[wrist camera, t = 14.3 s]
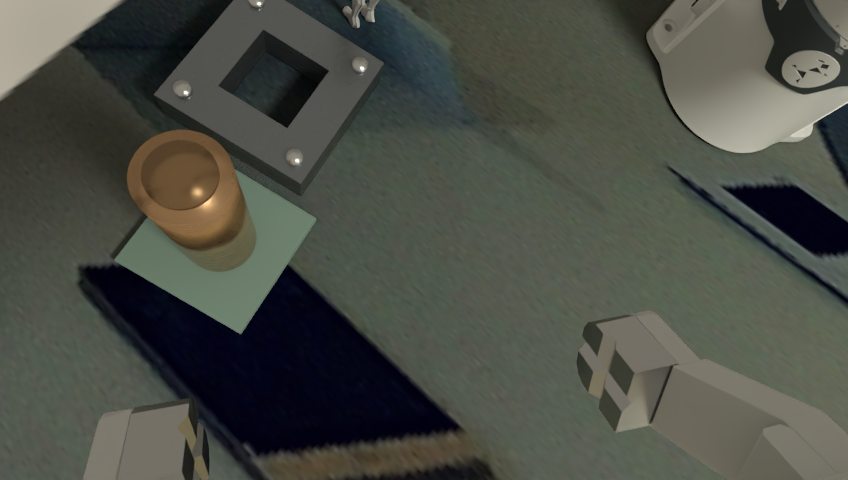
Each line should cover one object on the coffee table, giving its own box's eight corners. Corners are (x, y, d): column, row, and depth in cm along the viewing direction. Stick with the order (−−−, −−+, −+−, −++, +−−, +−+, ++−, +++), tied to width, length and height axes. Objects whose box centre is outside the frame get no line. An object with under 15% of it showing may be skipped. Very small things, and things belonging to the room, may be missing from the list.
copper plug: (211, 192, 40) (167, 109, 28) (270, 227, 41) (253, 160, 28) (168, 248, 39) (102, 187, 26) (230, 284, 39) (194, 241, 26)
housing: (254, 3, 45) (250, -25, 42) (379, 82, 46) (384, 60, 43) (163, 113, 41) (152, 91, 38) (301, 196, 42) (300, 182, 39)
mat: (202, 151, 41) (200, 148, 41) (316, 220, 42) (316, 218, 42) (116, 262, 38) (113, 260, 38) (241, 334, 39) (240, 333, 38)
